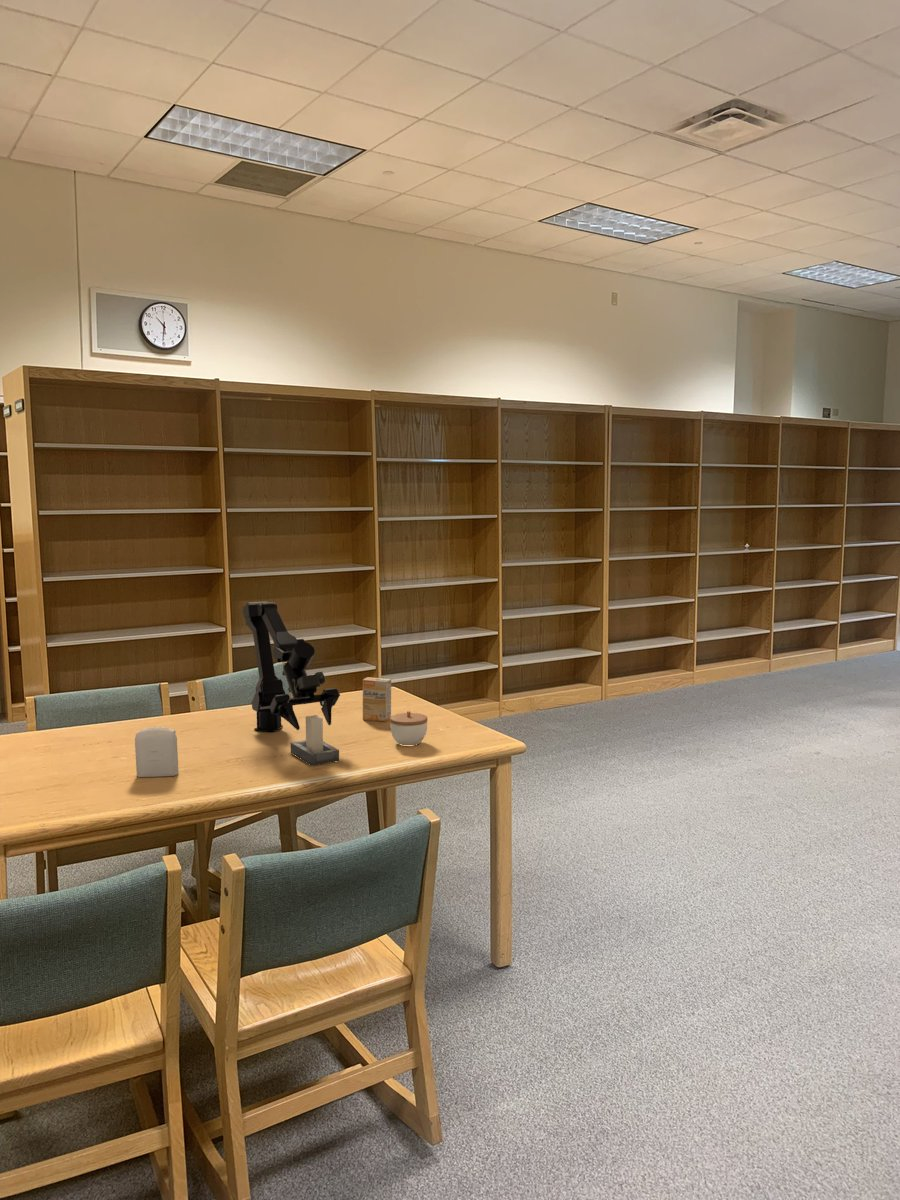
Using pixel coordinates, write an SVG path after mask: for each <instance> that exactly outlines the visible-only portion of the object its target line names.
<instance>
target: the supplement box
mask: <svg viewBox="0 0 900 1200" xmlns="http://www.w3.org/2000/svg"><path fill="white" fill-rule="evenodd" d="M391 716H392V679H391V678H384V677H383V678H382V677H372V676H371V677H369V676H367V677H365V678H363V679H362V720H363V721H375V720H377V722H385V721H386V722H388V721H390V717H391ZM387 720H388V721H387Z"/></svg>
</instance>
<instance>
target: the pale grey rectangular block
mask: <svg viewBox="0 0 900 1200" xmlns="http://www.w3.org/2000/svg"><path fill="white" fill-rule="evenodd" d="M323 720H324V719H323V717H322V716H319V715H318V714H315V715H307V716H305V740H306V748H307V749H309V750H311V751H312V752H314V753H317V752H323V741H324V731H323V730H324V726H323V725H324V724H323V723H324V721H323Z"/></svg>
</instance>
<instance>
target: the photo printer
mask: <svg viewBox="0 0 900 1200" xmlns="http://www.w3.org/2000/svg"><path fill="white" fill-rule="evenodd" d="M134 747H135V748H134V749H135V750H134V751H135V766H136V767H135V768H136V771H135V772H136V776H138V777H137V778H153V777H158V778H159V777H173V776H174V777H175V775H176V776H178V775H179V756H178V755H179V753H178V737H177V734H176V730H175V729H173V728H169V727H162V726H154V727H146V728H142V729H140V730H137V731H136V733H135V737H134Z"/></svg>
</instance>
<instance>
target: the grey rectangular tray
mask: <svg viewBox="0 0 900 1200" xmlns="http://www.w3.org/2000/svg"><path fill="white" fill-rule="evenodd" d="M289 743H290V754H292V755H293V754H294V756H295V755H296V756H297V757H296V756H295V757H296V758H298V757H299V758H298V759H300V758H301V759H302V761H303V760H304V761H305V763H306V762H307V763H306V764H308V765H309V764H310V765H309V766H311V767H314V766H319V764H320V765H325V763H326V764H330V762H331V763H336V762H335V761H337V762H340V750H339V749H338V748H336V747H335V746H332V745H331V744H329V743H328V742H326V741H324V740H323V752H317V753H314V752H312V751H311V750H309V749H307V748H306V739H303V740H297V741H296V740H295V741H291V742H289ZM301 759H300V760H301ZM304 761H303V762H304Z"/></svg>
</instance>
